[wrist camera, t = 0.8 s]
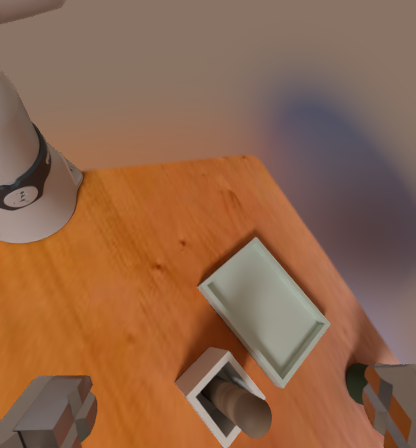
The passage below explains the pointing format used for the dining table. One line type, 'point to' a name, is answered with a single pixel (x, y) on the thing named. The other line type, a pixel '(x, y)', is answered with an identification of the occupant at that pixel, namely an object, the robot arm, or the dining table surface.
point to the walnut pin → (239, 406)
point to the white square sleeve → (200, 376)
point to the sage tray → (265, 310)
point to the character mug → (357, 381)
